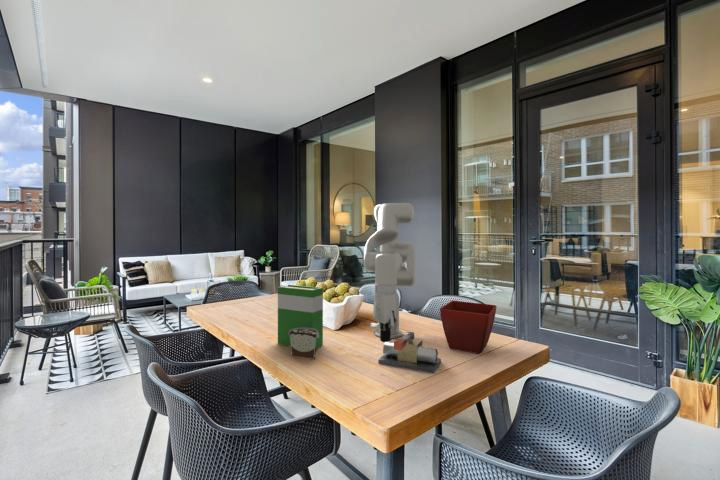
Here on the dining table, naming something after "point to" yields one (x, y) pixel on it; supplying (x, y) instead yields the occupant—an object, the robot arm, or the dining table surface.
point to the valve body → (411, 356)
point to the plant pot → (467, 325)
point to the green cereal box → (299, 311)
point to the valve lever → (403, 341)
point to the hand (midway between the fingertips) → (385, 341)
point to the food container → (303, 342)
